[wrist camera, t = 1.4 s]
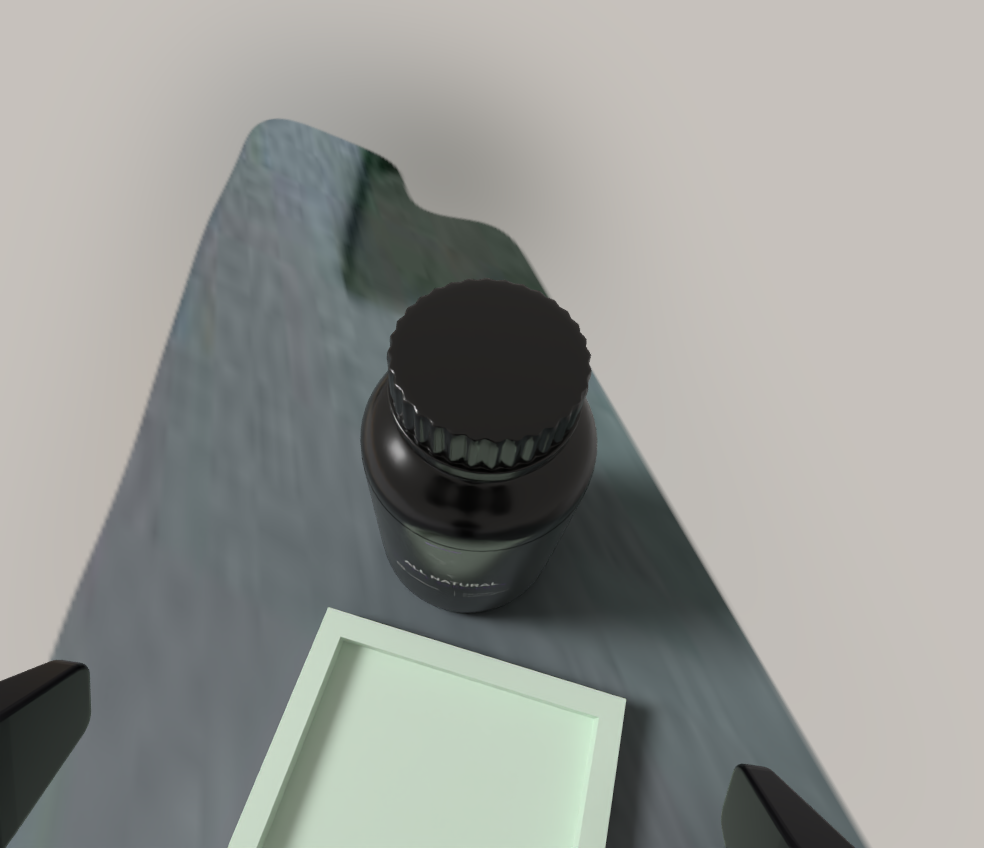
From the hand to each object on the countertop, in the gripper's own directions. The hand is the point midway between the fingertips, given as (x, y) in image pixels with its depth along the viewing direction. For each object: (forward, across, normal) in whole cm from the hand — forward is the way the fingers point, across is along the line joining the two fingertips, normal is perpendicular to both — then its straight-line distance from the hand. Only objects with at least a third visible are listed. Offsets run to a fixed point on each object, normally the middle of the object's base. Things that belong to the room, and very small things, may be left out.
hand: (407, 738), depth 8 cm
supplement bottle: (+15, 0, +4) cm, 16 cm away
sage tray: (+8, 0, +11) cm, 14 cm away
